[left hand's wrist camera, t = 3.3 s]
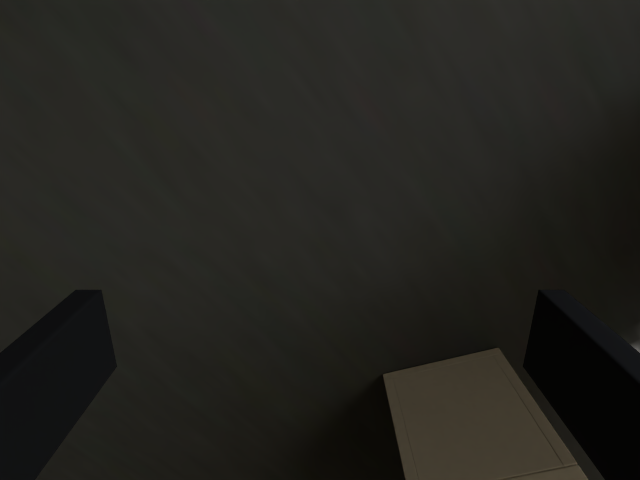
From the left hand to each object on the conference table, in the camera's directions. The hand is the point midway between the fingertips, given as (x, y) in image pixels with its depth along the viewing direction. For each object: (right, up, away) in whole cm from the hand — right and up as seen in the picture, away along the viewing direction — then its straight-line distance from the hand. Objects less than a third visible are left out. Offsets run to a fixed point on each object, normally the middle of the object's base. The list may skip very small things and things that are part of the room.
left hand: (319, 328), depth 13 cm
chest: (+12, -14, +23) cm, 29 cm away
